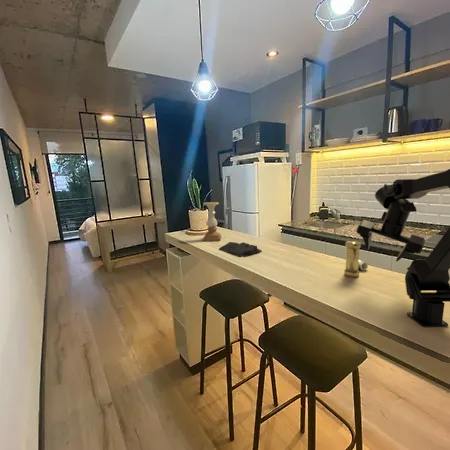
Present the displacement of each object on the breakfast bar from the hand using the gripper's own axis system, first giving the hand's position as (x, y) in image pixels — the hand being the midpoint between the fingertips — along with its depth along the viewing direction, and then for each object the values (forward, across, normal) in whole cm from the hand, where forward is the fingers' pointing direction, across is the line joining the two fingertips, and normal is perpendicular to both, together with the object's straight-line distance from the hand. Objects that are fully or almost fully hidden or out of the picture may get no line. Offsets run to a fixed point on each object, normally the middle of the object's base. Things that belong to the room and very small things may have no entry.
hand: (381, 255), depth 91 cm
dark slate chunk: (+31, +62, -1) cm, 70 cm away
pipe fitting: (+18, +8, -9) cm, 22 cm away
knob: (+14, +7, -1) cm, 16 cm away
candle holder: (+42, +92, -11) cm, 102 cm away
